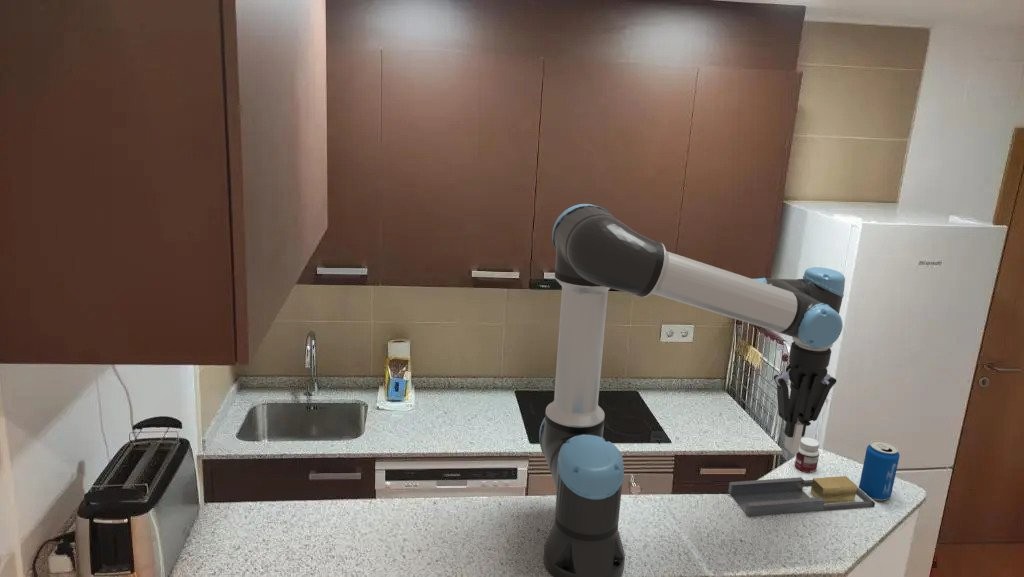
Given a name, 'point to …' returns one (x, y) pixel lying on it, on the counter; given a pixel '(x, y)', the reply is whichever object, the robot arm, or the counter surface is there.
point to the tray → (851, 505)
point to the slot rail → (773, 497)
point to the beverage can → (879, 470)
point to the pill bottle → (807, 455)
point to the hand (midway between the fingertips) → (791, 449)
